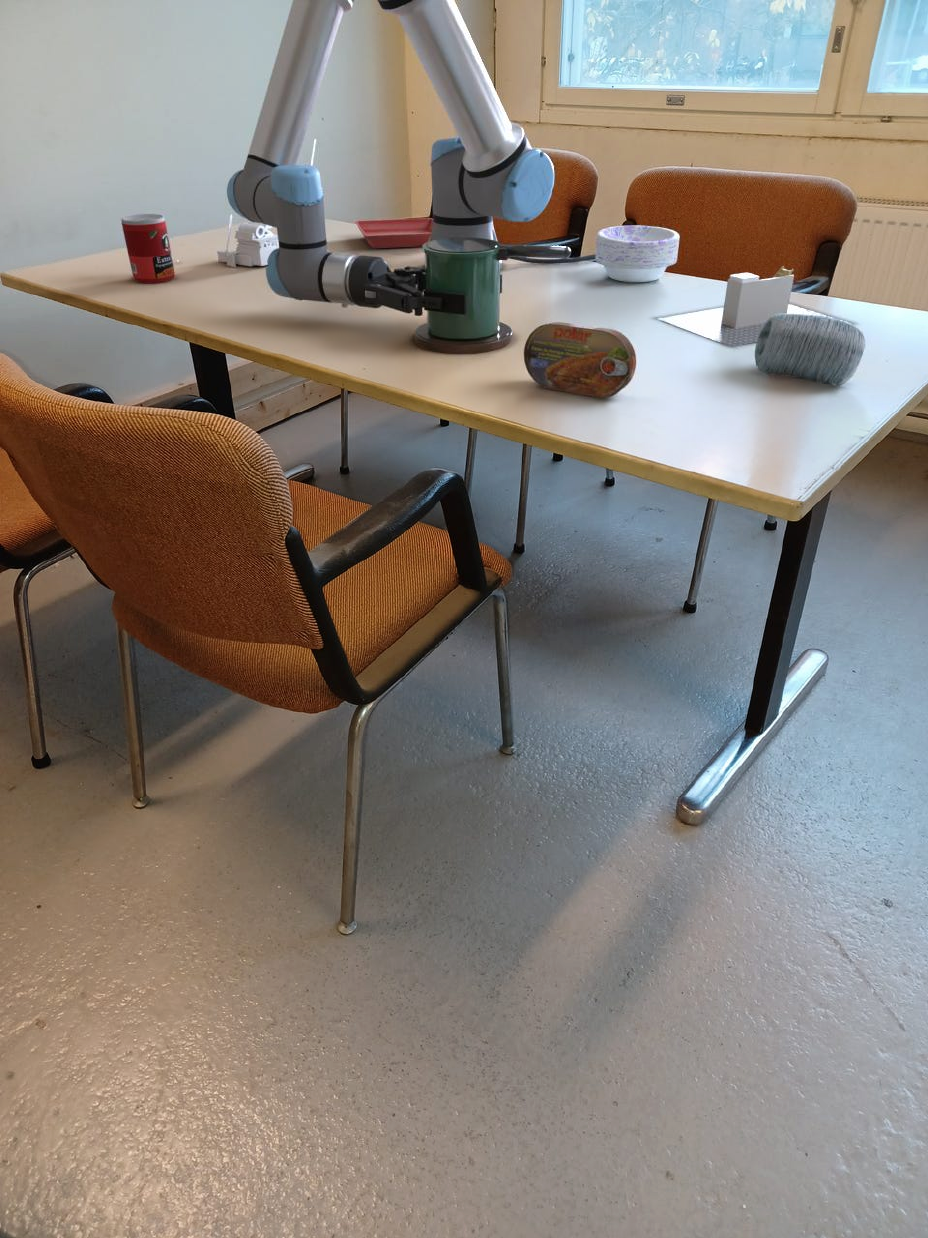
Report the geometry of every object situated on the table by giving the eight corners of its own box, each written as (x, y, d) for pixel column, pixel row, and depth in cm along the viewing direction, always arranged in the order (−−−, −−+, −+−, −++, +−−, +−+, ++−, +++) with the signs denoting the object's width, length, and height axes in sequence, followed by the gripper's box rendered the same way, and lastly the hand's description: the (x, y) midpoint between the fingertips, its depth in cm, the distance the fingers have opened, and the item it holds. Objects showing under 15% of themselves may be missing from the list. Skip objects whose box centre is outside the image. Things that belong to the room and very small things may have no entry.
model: (721, 323, 141) (728, 272, 137) (771, 314, 145) (780, 264, 141) (735, 328, 139) (743, 276, 134) (785, 318, 143) (795, 268, 138)
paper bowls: (639, 291, 159) (644, 243, 154) (577, 276, 168) (579, 232, 164) (691, 277, 167) (697, 232, 163) (629, 264, 177) (632, 221, 172)
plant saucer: (432, 231, 207) (432, 216, 205) (447, 247, 192) (447, 230, 190) (355, 236, 204) (354, 220, 202) (365, 251, 189) (364, 235, 187)
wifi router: (265, 242, 198) (251, 130, 186) (339, 254, 187) (329, 135, 175) (176, 263, 182) (154, 141, 169) (251, 277, 171) (234, 147, 158)
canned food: (164, 284, 167) (152, 221, 161) (125, 282, 168) (112, 220, 162) (183, 275, 173) (172, 214, 167) (145, 273, 174) (133, 213, 168)
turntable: (482, 320, 144) (482, 312, 143) (530, 343, 133) (531, 335, 132) (398, 333, 138) (398, 325, 137) (442, 359, 127) (441, 350, 126)
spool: (733, 353, 117) (777, 282, 114) (752, 368, 125) (794, 302, 122) (822, 401, 111) (871, 327, 108) (837, 413, 119) (883, 346, 116)
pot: (416, 337, 131) (413, 249, 124) (436, 316, 140) (433, 233, 134) (561, 345, 127) (565, 255, 120) (571, 323, 136) (576, 238, 129)
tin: (521, 384, 118) (523, 319, 113) (532, 377, 120) (534, 314, 116) (626, 404, 111) (632, 336, 107) (635, 396, 113) (642, 330, 109)
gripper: (397, 287, 149) (514, 300, 142) (318, 325, 131) (448, 341, 123) (394, 240, 145) (515, 250, 137) (313, 272, 127) (447, 285, 119)
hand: (484, 293), depth 130 cm, fingers open, 12 cm apart
